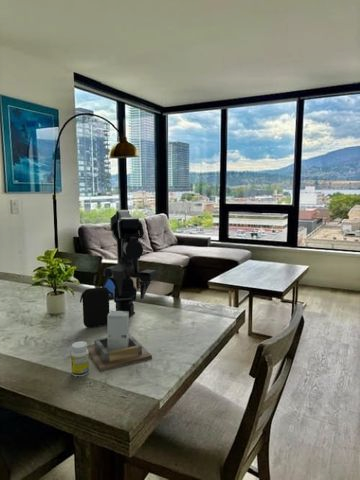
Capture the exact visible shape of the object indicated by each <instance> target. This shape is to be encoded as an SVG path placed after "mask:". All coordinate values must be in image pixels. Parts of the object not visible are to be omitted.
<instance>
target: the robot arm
mask: <svg viewBox="0 0 360 480" xmlns="http://www.w3.org/2000/svg"><path fill="white" fill-rule="evenodd" d="M109 225H110V231H111V235H112V237H113V238H114V240H115V242H116V253H117V255H116V256H117V263H116V264H115V265H111V266H109V267H106V268H104V270H103V276H104V277H105V278H108V279H110V280H111V281H112V282H113V284H114V286H115V287H114V290H113V299H112V300H113V303H115V311H128V312H129V318H130V317H131V316H133V315H135V314H136V312H135V304H134V302H135V301H136V300H137V293H138V289H137V288H136V285H135V283H134V280H133V279H132V277H136V278H139V281H138V283H139V286H140V291H139V292H140V293H139V294H140V300H142V299H144V297H145V295H146V292H147V291H148V288H149V286H150V284H151V283H152V282H153V281H154V280H156V279H158V272H157V271H156V270H155V269H148V268H147V269H145V270H142V271H140V270H141V267H140V266H139V259H141V256H142V255H143V253H144V247H143V245H142V243H141V242H139V239H143V238H144V234H145V231H144V226H143V223H142V221H141V220H140V219H139V217H137V216H132V215H131V213H130V210H128V209H117V210H115V214H114V215H113V216H111V217H110V223H109Z"/></svg>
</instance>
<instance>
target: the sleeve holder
mask: <svg viewBox="0 0 360 480" xmlns="http://www.w3.org/2000/svg"><path fill="white" fill-rule="evenodd" d="M87 349H88V352H89V357H90V358H91V359H92V361H93V362H94V364H95V365H96V367H97V369H98V371H99V372H104V371H107V370H111V369H115V368H119V367H123V366H124V367H125V366H128V365H130V364H131V365H132V364H135V363H139V362H143V361H147V360H152V359H153V355H152V354H151V352H149V351H148V350H147V349H146V348H145V347H144V346H143V345H142V344H141V343H140V342H139V341H138V340H137V339H136V338H135V337H134V336H133V335H131V334H130V333H129V347H128V348H124V349H119V350H115V351H110V352H108V351H107V337H102V338H97V339H94V344H93V343H92V344H89V345H88V344H87Z"/></svg>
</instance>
